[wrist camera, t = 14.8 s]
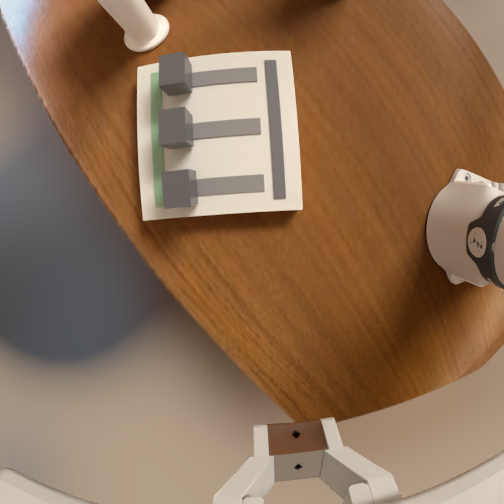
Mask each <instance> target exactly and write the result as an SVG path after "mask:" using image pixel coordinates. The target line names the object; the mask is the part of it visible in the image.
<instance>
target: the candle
mask: <svg viewBox="0 0 504 504" xmlns="http://www.w3.org/2000/svg"><path fill="white" fill-rule="evenodd" d="M97 1H98V2H99V3H100V4H101V5H102V7H103V8H104V9H105V10H106V11H107V12H108V13H109V14H110V15H111V16H112V17H113V18H114V20H115V21H116V22H117V23H118V24H119V25H120V26H121V27H122V28H123V30H124V31H125V35H124V42H125V44H126V46H127V47H128V48H129V49H130V50H132V51H135V52H145V51H148V50H151V49H153V48H155V47H157V46H158V45H159V44H161V43H162V42H163V41H164V40H165V38H166V37H167V35H168V32H169V23H168V21H167V19H166V18H165V17H163V16H162V15H159V14H153V13H152V12H151V10H150V8H149V7H148V5H147V4H146V2H145V0H97Z"/></svg>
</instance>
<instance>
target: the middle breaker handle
mask: <svg viewBox="0 0 504 504" xmlns="http://www.w3.org/2000/svg"><path fill="white" fill-rule="evenodd" d="M158 129H159V145H160V146H162V147H165V148H167V149H178V148H186V147H194V139H193V117H192V114H191V113H190V112H189V111H188V110H187V108H186V107H185V106H184V107H177V108H170V109H164V110H158Z"/></svg>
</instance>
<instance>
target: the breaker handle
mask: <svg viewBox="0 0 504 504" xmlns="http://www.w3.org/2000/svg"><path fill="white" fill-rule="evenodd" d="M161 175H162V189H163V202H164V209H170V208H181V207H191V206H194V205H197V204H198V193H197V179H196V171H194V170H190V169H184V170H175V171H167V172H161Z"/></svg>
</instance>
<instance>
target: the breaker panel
mask: <svg viewBox="0 0 504 504" xmlns="http://www.w3.org/2000/svg"><path fill="white" fill-rule="evenodd" d="M188 59H189V61H190V63H191V65H192V93H188V94H181V95H174V96H168V95H167V94H166V93H165V92H164V91H163V90H162V89H161V88H160V87H159V63H155V64H150V65H146V66H141V67H138V76H137V139H138V163H139V179H140V193H141V204H142V215H143V221H147V220H157V219H168V218H180V217H192V216H205V215H219V214H233V213H249V212H266V211H285V210H303V205H302V184H301V166H300V150H299V136H298V123H297V110H296V99H295V89H294V79H293V69H292V60H291V51H252V52H236V53H223V54H213V55H205V56H197V57H190V58H188ZM184 106H185V107H186V108H187V110H188V111H189V112H190V113H191V114H192V117H193V139H194V147H186V148H178V149H167V148H165V147H162V146H160V145H159V129H158V110H164V109H170V108H177V107H184ZM184 169H190V170H194V171H196V179H197V193H198V204H197V205H194V206H191V207H181V208H170V209H164V202H163V189H162V175H161V172H167V171H175V170H184Z"/></svg>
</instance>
